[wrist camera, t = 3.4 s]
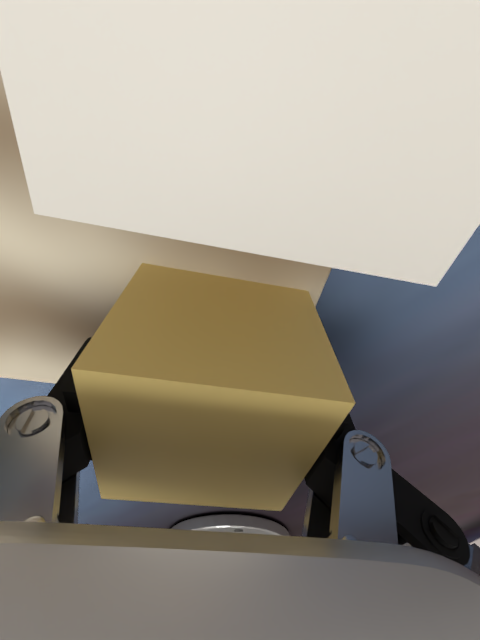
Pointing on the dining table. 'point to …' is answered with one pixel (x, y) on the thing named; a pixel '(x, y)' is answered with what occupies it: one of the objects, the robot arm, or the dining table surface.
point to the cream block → (255, 124)
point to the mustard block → (208, 391)
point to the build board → (89, 272)
